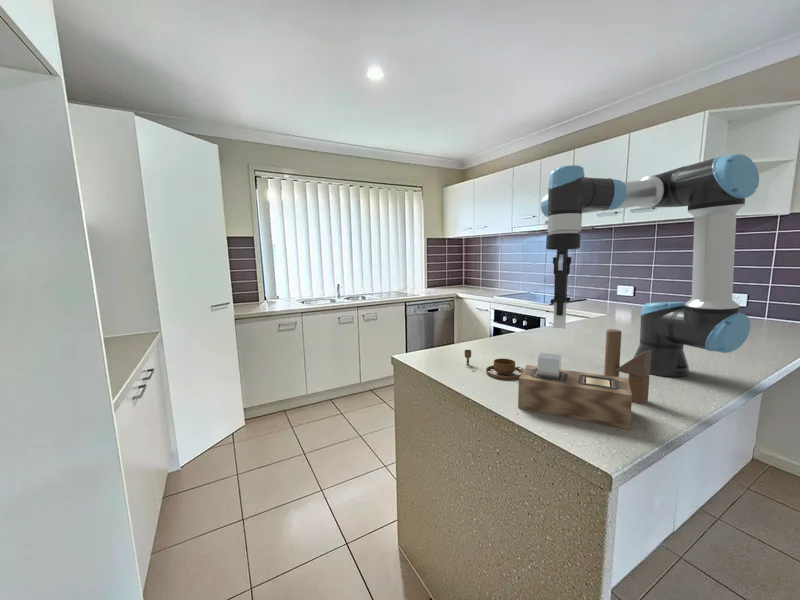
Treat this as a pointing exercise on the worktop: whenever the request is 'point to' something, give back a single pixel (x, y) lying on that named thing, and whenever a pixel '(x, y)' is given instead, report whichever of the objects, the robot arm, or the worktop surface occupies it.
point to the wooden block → (628, 366)
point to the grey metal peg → (549, 365)
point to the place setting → (499, 367)
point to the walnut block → (577, 397)
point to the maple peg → (598, 381)
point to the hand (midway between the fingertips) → (559, 327)
